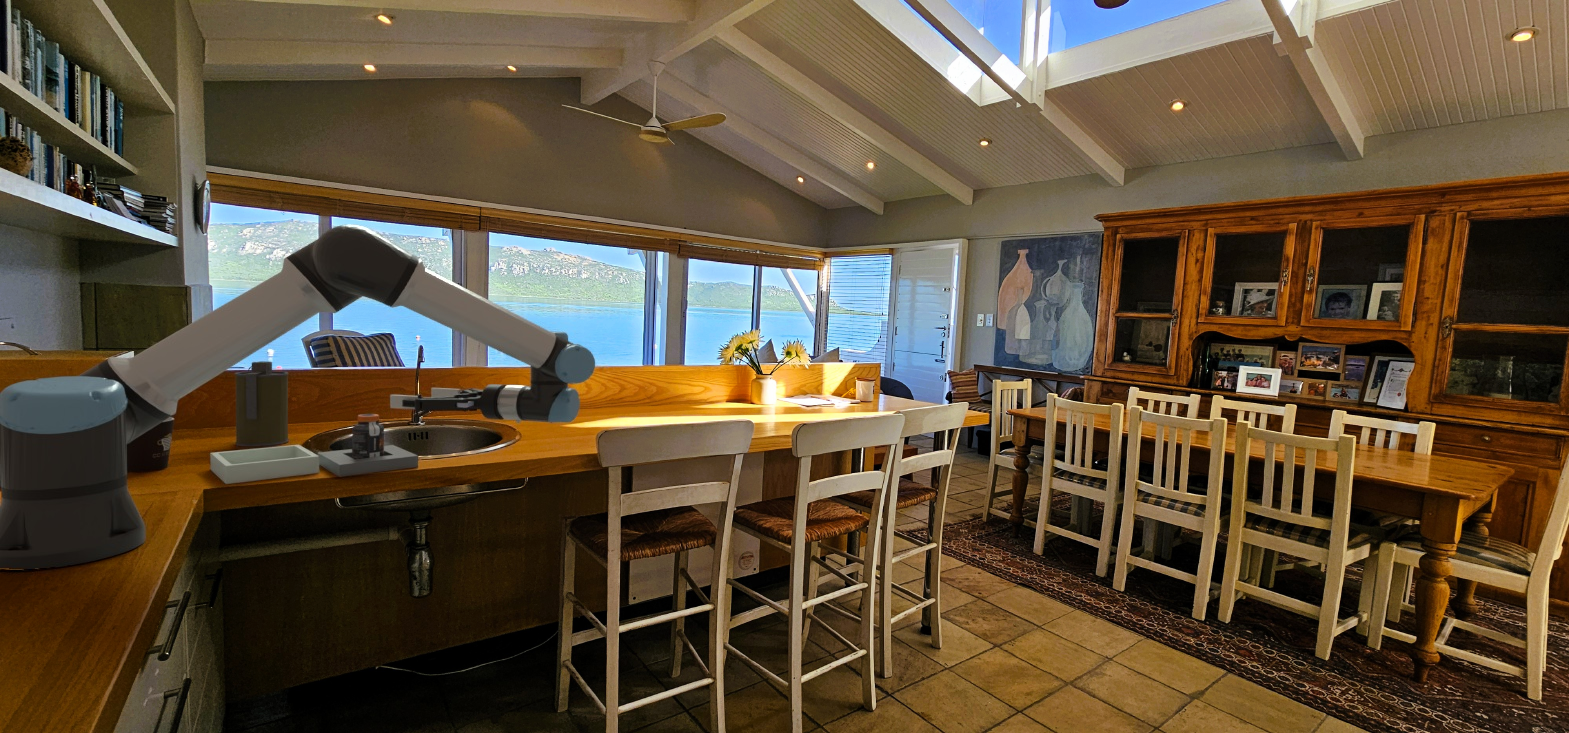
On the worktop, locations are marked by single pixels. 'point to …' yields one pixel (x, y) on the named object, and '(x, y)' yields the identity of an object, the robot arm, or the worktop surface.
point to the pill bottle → (367, 437)
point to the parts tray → (263, 463)
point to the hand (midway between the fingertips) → (412, 397)
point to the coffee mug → (151, 449)
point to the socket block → (367, 461)
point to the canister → (261, 406)
